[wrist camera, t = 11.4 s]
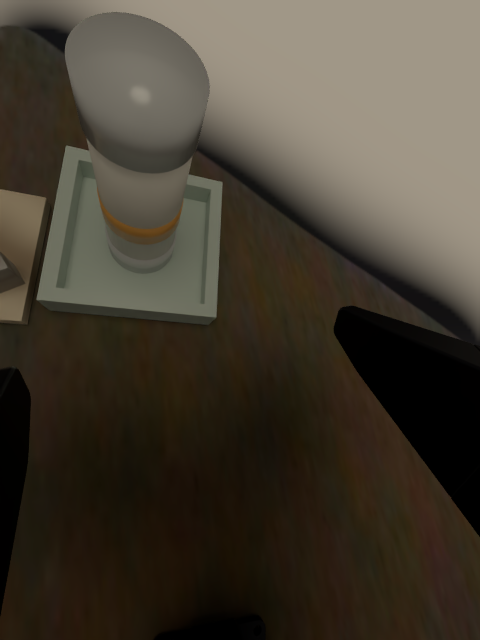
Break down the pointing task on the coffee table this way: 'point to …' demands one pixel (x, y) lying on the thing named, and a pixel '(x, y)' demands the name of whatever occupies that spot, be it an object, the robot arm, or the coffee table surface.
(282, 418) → the coffee table surface
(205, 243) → the tray
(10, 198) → the fuse holder
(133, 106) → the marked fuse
